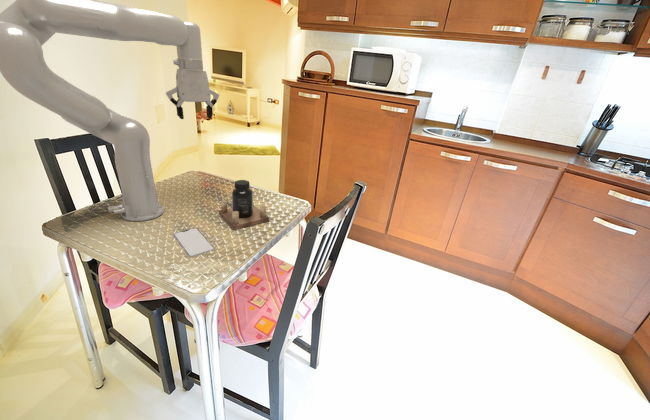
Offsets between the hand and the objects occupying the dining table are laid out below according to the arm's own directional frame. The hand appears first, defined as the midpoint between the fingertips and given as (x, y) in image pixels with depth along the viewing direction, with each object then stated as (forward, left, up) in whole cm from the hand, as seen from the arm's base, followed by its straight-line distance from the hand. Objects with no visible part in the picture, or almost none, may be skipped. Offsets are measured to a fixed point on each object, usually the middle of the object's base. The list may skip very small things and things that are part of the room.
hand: (195, 118), depth 105 cm
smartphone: (-13, -32, -31) cm, 47 cm away
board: (+6, -25, -30) cm, 40 cm away
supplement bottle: (+6, -25, -29) cm, 39 cm away
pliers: (+9, -11, -31) cm, 34 cm away
